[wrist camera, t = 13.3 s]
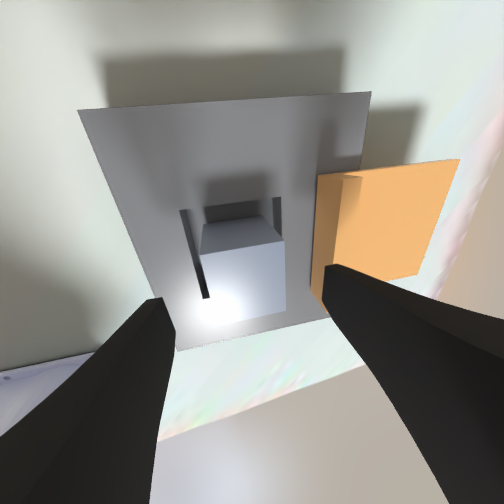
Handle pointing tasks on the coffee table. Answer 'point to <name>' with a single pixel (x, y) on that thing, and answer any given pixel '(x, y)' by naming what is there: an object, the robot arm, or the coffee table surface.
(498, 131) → the coffee table surface
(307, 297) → the socket base
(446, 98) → the coffee table surface
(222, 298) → the grey rectangular block
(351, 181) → the panel
